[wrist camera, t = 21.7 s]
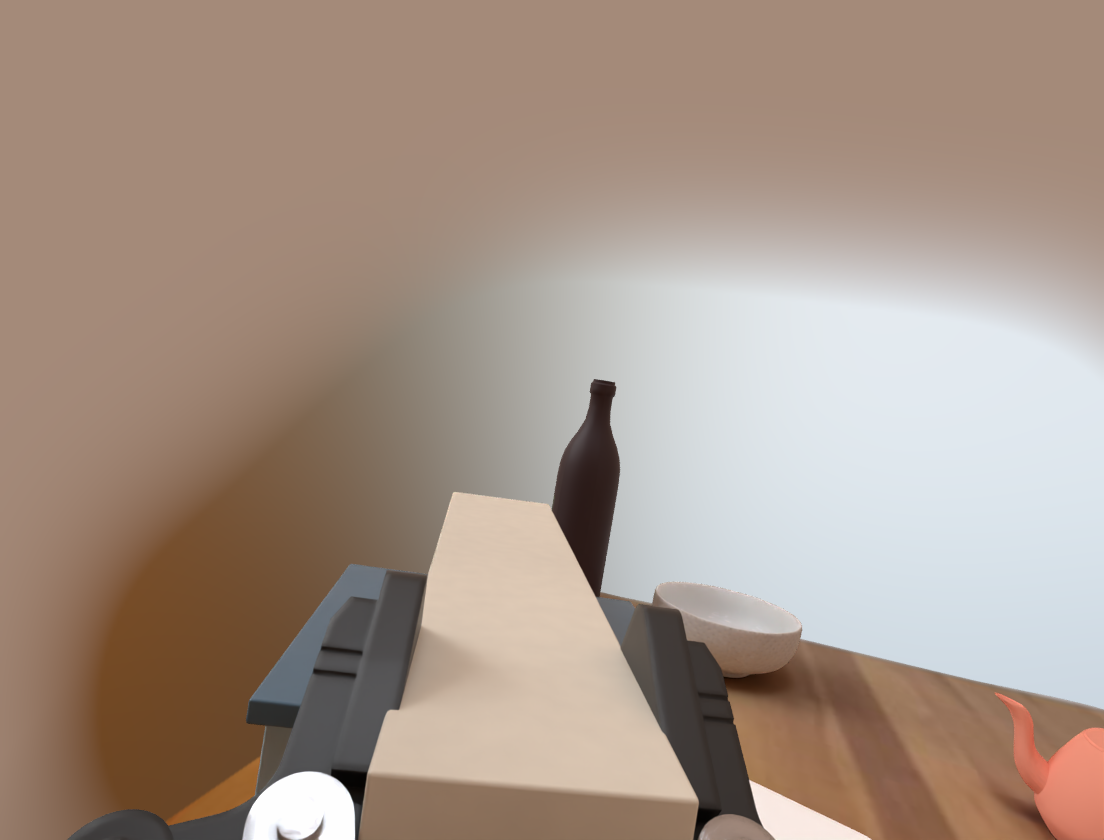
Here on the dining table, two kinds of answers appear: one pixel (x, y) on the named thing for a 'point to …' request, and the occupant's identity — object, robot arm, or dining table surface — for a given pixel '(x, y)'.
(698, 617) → the cereal bowl
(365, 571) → the container
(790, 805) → the plate
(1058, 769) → the teapot
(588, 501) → the wine bottle
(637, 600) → the dining table surface
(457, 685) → the slat
